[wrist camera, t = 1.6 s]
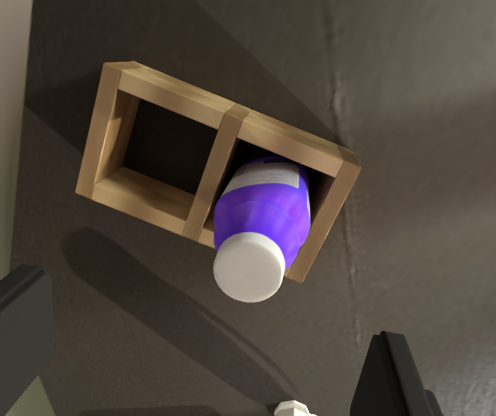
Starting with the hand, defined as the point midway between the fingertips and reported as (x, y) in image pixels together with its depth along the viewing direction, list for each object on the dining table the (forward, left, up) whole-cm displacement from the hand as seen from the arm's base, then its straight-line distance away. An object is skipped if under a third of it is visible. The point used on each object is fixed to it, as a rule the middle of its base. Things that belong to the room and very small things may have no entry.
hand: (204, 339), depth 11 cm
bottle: (+2, -4, -28) cm, 28 cm away
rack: (-3, -4, -28) cm, 28 cm away
